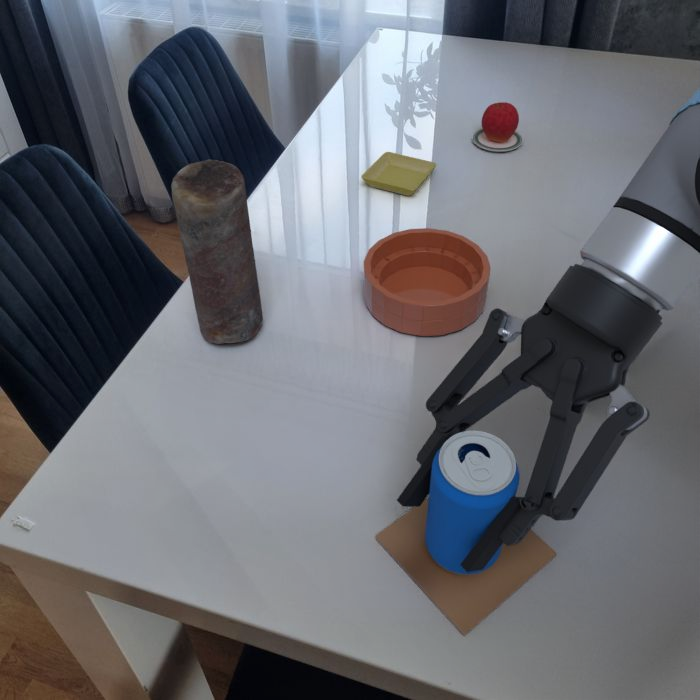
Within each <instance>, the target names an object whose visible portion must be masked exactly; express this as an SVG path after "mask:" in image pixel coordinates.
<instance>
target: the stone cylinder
mask: <svg viewBox="0 0 700 700" xmlns="http://www.w3.org/2000/svg"><path fill="white" fill-rule="evenodd" d="M170 187H171V197H172V203H173V207H174V211H175V216H176V221H177V225H178V230H179V234H180V240H181V245H182V249H183V254H184V259H185V263H186V268H187V271H188V277H189V282H190V287H191V293H192V298H193V303H194V308H195V312H196V313H195V314H196V318H197V322H198V326H199V331H200V334H201V336H202V338H203V340H206V341H207V342H208V343H211V344H213V343H214V344H217V345H221V344H235V343H243V342H246V341H249V340H250V339H252V338H254V336H255V335H256V334H257V333H258V332H259V330H260V328H261V327H262V325H263V321H264V317H263V309H262V301H261V294H260V293H261V292H260V286H259V279H258V273H257V265H256V264H257V263H256V258H255V250H254V244H253V236H252V230H251V221H250V214H249V206H248V198H247V190H246V181H245V177H244V175H243V173H242V171H241V170H240V169H239V168H238V167H237V166H235V164H232V163H229V162H226V161H222V160H218V159H211V158H210V159H209V158H208V159H205V160H201V161H197V162H194V163H189V164H186V165H185V166H183V167H182V168H181V169H180V170H179V171H178V172H177V173H176V174H175V175H174V177H173V178H172V181H171V185H170Z"/></svg>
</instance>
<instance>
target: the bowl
mask: <svg viewBox="0 0 700 700" xmlns="http://www.w3.org/2000/svg"><path fill="white" fill-rule="evenodd" d="M488 257H489V256H487V254H486V253H485V251H484V250H483V248H481V246H480V245H479V244H477V243H475V242H474V241H472V240H471V239H469V238H467V237H466V236H464V235H462V234H459V233H455V232H454V231H450V230H445V229H439V228H430V227H425V228H424V227H423V228H408V229H405V230H400V231H396V232H393V233H391V234H389V235H387V236H384V237H383V238H380V239H379V240H377V241H376V242H375V243H374V244H373V245H372V246H371V247H370V248H369V249H368V251H367V253H366V255H365V257H364V260H363V295H364V303H365V305H366V307H367V309H368V311H369V312H370V314H371V315H372V317H374V318H375V319H376V320H377V321H378V322H379V323H381V324H382V325H383V326H385V327H388V328H390V329H392V330H395V331H397V332H399V333H402V334H408V335H413V336H419V337H433V336H434V337H437V336H444V335H449V334H450V333H451V334H452V333H455V332H458V331H461V330H463V329H464V328H466V327H468V326H469V325H471V324H472V323H474V322H476V320H477V319H479V317H480V315H481V314H482V313H483V312H484V310H485V306H486V301H487V296H488V290H489V289H488V288H489V281H490V275H491V264H490V261H489V258H488Z"/></svg>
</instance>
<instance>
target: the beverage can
mask: <svg viewBox="0 0 700 700" xmlns="http://www.w3.org/2000/svg"><path fill="white" fill-rule="evenodd" d="M519 485H520V468H519V466H518V463H517V461H516V457H515V454H514V452H513V450H512V449H511V448H510V447H509V445H508V444H507V443H506V442H505V441H504V440H502V439H501V438H499V436H496V435H494V434H492V433H490V432H486V431H482V430H465V431H464V432H460V433H458V434H455V435H453V436H452V437H450V438H449V439H448V440H447V441H446V442H445V443H444V444H443V446H442V447H441V448H440V449H439V450H438V452H437V453H436V455H435V457H434V459H433V463H432V471H431V481H430V491H429V494H428V497H429V501H428V511H427V520H426V530H425V541H426V546H427V549H428V551H429V553H430V554H431V556H432V557H433V559H434V560H435V561H436V562H437V563H438V564H439V565H441V566H442V567H444V568H445V569H447V570H449V571H452V572H454V573H458V574H476V573H480V572H482V571H485V570H486V569H488V568H490V567H491V566H492V565H493V564H494V563H495V562H496V560H497V559H498V557H499V555H500V553H501V549H502V545H503V544H502V545H501V546H500V548H499V549H498V550H497V552H496V553H495V554H494V556H493V557H492V558H491V559H490V561H489V562H488V563H487V565H486V566H485V567H484V569H483V570H477V571H472V572H467V571H466V570H465V569H464V568H463V567H462V566H461V565H460V564H461V563H462V562H463V560H464V559H465V558H466V556H467V555H468V554H469V552H470V551H471V550H472V548H473V547H474V546H475V544H476V543H477V542H478V540H479V539H480V538H481V537H482V535H483V534H484V533H485V531H486V530H487V529H488V527H489V526H490V525H491V523H492V522H493V521H494V519H495V518H496V517H497V515H498V514H499V513H500V511H501V510H502V509H503V508H504V507H505V505H506V504H507V503H508V502H509V500H510V499H511V497H517V496H516V495H517V492H518V489H519Z"/></svg>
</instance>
